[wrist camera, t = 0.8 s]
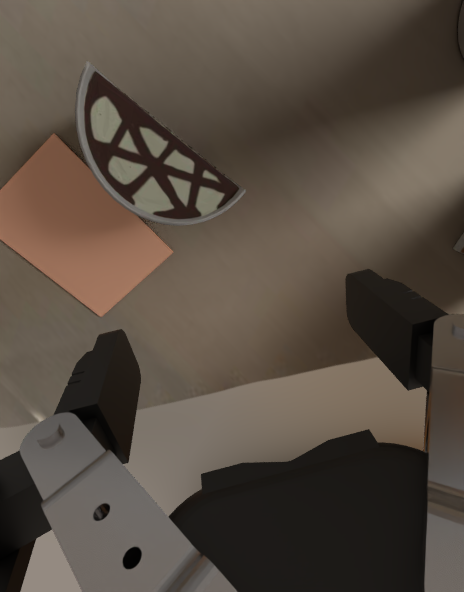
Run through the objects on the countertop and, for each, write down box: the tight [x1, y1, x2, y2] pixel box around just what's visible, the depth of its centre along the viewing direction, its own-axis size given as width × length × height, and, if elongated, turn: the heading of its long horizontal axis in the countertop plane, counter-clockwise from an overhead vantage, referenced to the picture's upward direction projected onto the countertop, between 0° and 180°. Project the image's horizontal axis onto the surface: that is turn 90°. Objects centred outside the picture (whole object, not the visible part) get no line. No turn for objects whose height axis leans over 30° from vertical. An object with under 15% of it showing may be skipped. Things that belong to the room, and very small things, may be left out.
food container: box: [75, 61, 246, 226], centre depth 25 cm, size 12×6×10 cm, turn 52°
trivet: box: [0, 133, 173, 317], centre depth 31 cm, size 10×14×1 cm
